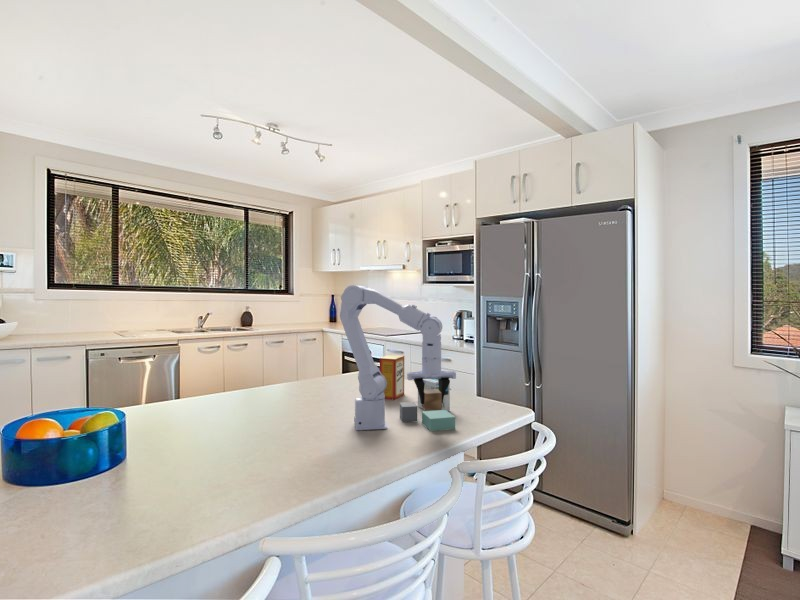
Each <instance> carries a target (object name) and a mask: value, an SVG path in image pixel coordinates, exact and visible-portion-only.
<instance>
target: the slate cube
mask: <svg viewBox="0 0 800 600" xmlns="http://www.w3.org/2000/svg"><path fill="white" fill-rule="evenodd" d="M399 420H400V421H401V423H412V422H411V421H417V422H418V404H417V403H416V402H415V401H412V402H399Z"/></svg>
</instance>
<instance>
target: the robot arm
mask: <svg viewBox="0 0 800 600" xmlns="http://www.w3.org/2000/svg"><path fill="white" fill-rule="evenodd" d="M340 300H341V303H340V309H339V310H340V311H339V318H340V321H341V324H342V328H343V329H344V332H345V333H344V334H345V335H346V339H347V341H348V344H349V347H350V350H351V352H352V354H353V358H354V360H355V363H356V366H357V369H358V374H357V379H358V383H359V385H358V386H359V387H358V390H359V393H360V394H359V395H361V397H356V398H354V417H353V422H354V426H355V431H365V430H366V431H367V430H387V429H388V425H387V422H386V421H385V420H386V416H385V415H386V404H385V403H386V402H385V401H386V399H385V395H384V392H383V391H384V390H385V388H386V386H387V381H386V378H385V377H384V376H383V375H382V374H381V372H380V367H378V366H377V364H375V362H374V359H373V356H372V353H371V350H370V347H369V345H368V342H367V339H366V336H365V334H364V331H363V327H362V325H361V323H360V319H359V315H360V314H361V312H362V310H363V308H365V307H366V306H367V305H377V306H379V307H381V308H383V309H385V310H387V311H389V312H391V313H393V314H394V315H397V316H398V318H399V321H400V322H401V323H403V324H405V325H407V326H409V327H410V328H412V329H414V330H415V331H418V332H419V331H420V333H421V335H422V343H421V347H422V348H421V370H420V371H410V372H409V371H408V372H406V375H407V376H406V379H407V380H408V381H412V380H413V381H414V384H415V386H416V389H417V393H418V392H419V396H420V402H421V404H424V384H425V383H424V380H423V379H438V382H439V391H440V392H441V393H442V403H443V398H444V395H445V392H446V389H447V387H448V385H449V383H451V380H450V379H457V372H456V371H454V370H453V371H451V370H442V335H441V332H442V330H443V323H442V321H441V319H439V318H438V317H436V316H431V313H429V312H427V313H426V312H424V311H422V310H420V309H418V308H417V305H415V304H412V305H411V304H406V305H402V304H400V303H399V302H397V301H395V300H394V299H392V298H390V297H388V296H387V295H385V294H384V293H382V292H380V291H378V290H376V289H374V288H370V287H368V286H366V285H362V284H360V285H356V284H351V285H349V286H347V287H345V289H344V290H343V293H342V294H341V296H340Z"/></svg>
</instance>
